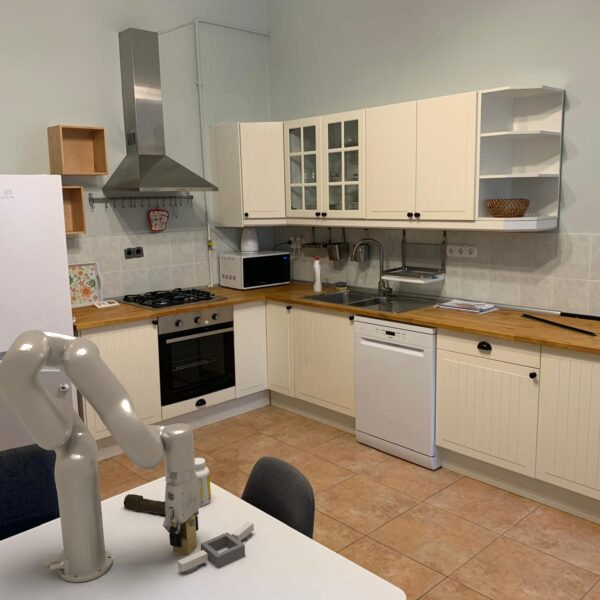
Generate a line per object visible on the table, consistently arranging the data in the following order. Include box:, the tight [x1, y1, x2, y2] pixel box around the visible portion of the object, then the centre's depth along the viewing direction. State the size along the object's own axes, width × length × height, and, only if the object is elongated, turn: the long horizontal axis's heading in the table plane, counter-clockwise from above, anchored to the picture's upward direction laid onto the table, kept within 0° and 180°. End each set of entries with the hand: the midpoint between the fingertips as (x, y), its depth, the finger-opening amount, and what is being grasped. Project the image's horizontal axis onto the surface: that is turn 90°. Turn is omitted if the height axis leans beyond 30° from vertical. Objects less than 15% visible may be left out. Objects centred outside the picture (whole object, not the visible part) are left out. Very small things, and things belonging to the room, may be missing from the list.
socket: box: [177, 521, 255, 575], centre depth 159 cm, size 9×24×3 cm, turn 129°
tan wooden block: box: [172, 514, 198, 556], centre depth 161 cm, size 4×6×9 cm
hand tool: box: [123, 493, 166, 516], centre depth 182 cm, size 19×4×5 cm, turn 69°
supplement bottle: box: [195, 457, 212, 507], centre depth 186 cm, size 7×7×13 cm
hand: (184, 537), depth 162 cm, fingers open, 7 cm apart
